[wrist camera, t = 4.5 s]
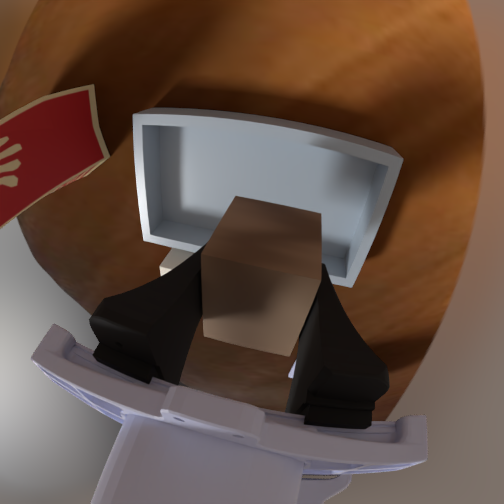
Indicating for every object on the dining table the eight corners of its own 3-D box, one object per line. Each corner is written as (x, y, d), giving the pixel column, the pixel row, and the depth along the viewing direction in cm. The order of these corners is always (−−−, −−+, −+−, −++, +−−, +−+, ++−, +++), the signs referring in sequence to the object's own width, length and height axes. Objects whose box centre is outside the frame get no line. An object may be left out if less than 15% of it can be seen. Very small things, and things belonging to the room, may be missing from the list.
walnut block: (321, 213, 13) (321, 280, 10) (298, 288, 17) (289, 356, 13) (235, 195, 14) (200, 253, 10) (229, 273, 17) (203, 336, 13)
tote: (392, 147, 16) (403, 159, 14) (349, 265, 23) (351, 287, 21) (153, 107, 18) (132, 114, 16) (158, 223, 25) (143, 240, 22)
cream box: (217, 248, 25) (202, 277, 22) (216, 279, 28) (203, 308, 24) (178, 240, 25) (159, 266, 22) (180, 270, 28) (164, 297, 25)
